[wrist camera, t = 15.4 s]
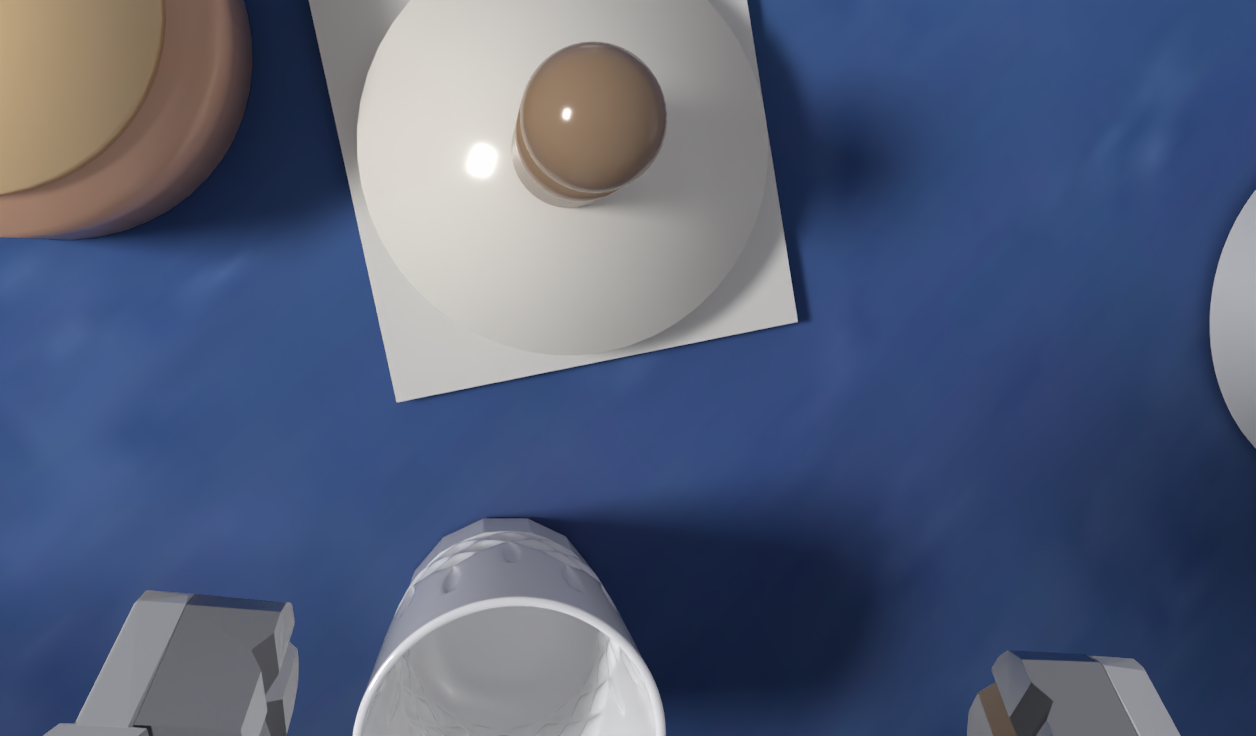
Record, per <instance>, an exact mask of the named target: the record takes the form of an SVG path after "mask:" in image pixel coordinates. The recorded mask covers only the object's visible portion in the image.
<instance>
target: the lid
mask: <svg viewBox="0 0 1256 736" xmlns="http://www.w3.org/2000/svg"><path fill="white" fill-rule="evenodd" d="M357 159H358V166H359V173H360V180H361V186H362V190H363V193H364V197H365V200H366V204H367V207H368V211H369V214H370V216H371V219H372V221H373V223H374V226H375V228H376V230H377V233H378V235H379V237H380V239H381V241H382V243H383V244H384V246H385V248H386V249H387V251H388V253H389V255H390V256H391V258H392V260H393V261H394V263H395V264H396V265H397V267H398V268H399V269H400V271H401V272H402V273H403V274H404V276H405V277H406V278H407V280H408V281H409V282H410V283H411V285H412V286H413V287H414V288H415V289H416V290H417V291H418V292H419V293H420V294H421V295H422V296H423V297H424V298H425V299H426V300H428V301H429V302H430V303H431V304H432V305H433V306H434V307H436V308H437V309H438V310H440V311H441V312H442V313H443V314H445V315H446V316H447V317H449V318H450V319H451V320H453V321H454V322H456V323H458V324H460V325H461V326H463V327H465V328H466V329H468V330H470V331H472V332H473V333H475V334H477V335H479V336H482V337H484V338H487V339H489V340H492V341H494V342H496V343H499V344H501V345H505V346H508V347H512V348H516V349H520V350H523V351H527V352H534V353H542V354H549V355H585V354H593V353H600V352H607V351H611V350H614V349H618V348H622V347H626V346H630V345H632V344H635V343H637V342H640V341H642V340H645V339H647V338H650V337H652V336H654V335H656V334H658V333H660V332H662V331H663V330H665V329H667V328H668V327H670V326H672V325H674V324H675V323H677V322H679V321H680V320H681V319H683V318H684V317H685V316H686V315H688V314H689V313H690V312H692V311H693V310H694V309H696V308H697V307H698V306H699V305H700V304H701V303H702V302H703V301H704V300H705V299H706V298H707V297H708V296H709V295H710V294H711V293H712V292H713V291H714V290H715V289H716V288H717V287H718V286H719V284H720V283H721V282H722V281H723V279H724V278H725V277H726V276H727V274H728V273H729V272H730V270H731V269H732V268H733V266H734V264H735V263H736V261H737V259H738V258H739V256H740V254H741V252H742V251H743V249H744V247H745V246H746V243H747V241H748V239H749V236H750V234H751V232H752V230H753V227H754V225H755V223H756V219H757V216H758V213H759V209H760V206H761V202H762V199H763V194H764V188H765V181H766V175H767V161H768V138H767V127H766V117H765V112H764V108H763V103H762V99H761V94H760V90H759V87H758V85H757V82H756V79H755V76H754V73H753V71H752V68H751V65H750V63H749V61H748V59H747V57H746V55H745V53H744V51H743V49H742V47H741V45H740V43H739V41H738V40H737V38H736V37H735V35H734V34H733V32H732V31H731V29H730V28H729V26H728V25H727V23H726V22H725V20H724V19H723V18H722V17H721V15H720V14H719V13H718V12H717V11H716V10H715V9H714V7H713V6H712V5H711V4H710V3H709V2H708V1H707V0H410V1H409V3H408V4H407V5H406V7H405V8H404V9H403V10H402V12H401V13H400V14H399V15H398V17H397V18H396V19H395V21H394V22H393V23H392V25H391V26H390V28H389V30H388V32H387V33H386V35H385V37H384V38H383V40H382V42H381V44H380V45H379V47H378V49H377V52H376V54H375V57H374V59H373V61H372V64H371V66H370V69H369V71H368V74H367V77H366V81H365V85H364V89H363V93H362V96H361V100H360V108H359V116H358V124H357Z"/></svg>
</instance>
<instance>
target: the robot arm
mask: <svg viewBox="0 0 1256 736" xmlns="http://www.w3.org/2000/svg"><path fill="white" fill-rule="evenodd" d="M1210 343H1211V351H1212V359H1213V364H1214V369H1215V373H1216V377H1217V380H1218V384H1219V387H1220V390H1221V392H1222V395H1223V398H1224V400H1225V402H1226V405H1227V407H1228V409H1229V411H1230V413H1231V415H1232V417H1233V418H1234V420H1235V422H1236V423H1237V425H1238V426H1239V428H1240V430H1241V431H1242V432H1243V434H1244V435H1245V436H1246V438H1247V439H1248V440H1249V441H1250V443H1251V444H1252V445H1253V446H1254V447H1255V448H1256V190H1255V191H1254V192H1253V194H1252V195H1251V197H1250V198H1249V200H1248V201H1247V203H1246V204H1245V206H1244V207H1243V209H1242V210H1241V212H1240V214H1239V216H1238V217H1237V219H1236V221H1235V223H1234V225H1233V227H1232V229H1231V231H1230V233H1229V235H1228V238H1227V240H1226V243H1225V245H1224V248H1223V251H1222V254H1221V257H1220V260H1219V263H1218V267H1217V271H1216V275H1215V279H1214V284H1213V290H1212V297H1211V306H1210ZM294 624H295V622H294V615H293V608H292V603H286V602H275V601H265V600H254V599H244V598H233V597H222V596H212V595H201V594H189V593H176V592H163V591H151V590H146V591H145V592H144V594H143V595H142V596H141V597H140V598H139V599H138V600H137V601H136V602H135V603H134V605H133V607H132V609H131V611H130V613H129V615H128V617H127V619H126V621H125V623H124V625H123V627H122V629H121V631H120V633H119V635H118V637H117V639H116V641H115V643H114V645H113V647H112V649H111V651H110V653H109V655H108V657H107V659H106V661H105V663H104V666H103V668H102V670H101V672H100V674H99V676H98V678H97V680H96V682H95V684H94V686H93V688H92V690H91V692H90V694H89V696H88V698H87V700H86V702H85V704H84V706H83V708H82V710H81V712H80V714H79V716H78V718H77V720H76V722H75V724H74V723H59V724H58V725H57V726H55V727H54V728H53V729H51V730H50V731H49V732H47V733H46V734H45V735H43V736H285V735H286V734H287V731H288V727H289V724H290V720H291V716H292V713H293V708H294V703H295V697H296V691H297V685H298V667H299V662H298V651H297V648H295V647H294V646H293V645H292V644H291V643H290V642H289V640H290V637H291V633H292V630H293V627H294ZM991 670H992V673H993V676H994V678H995V681H996V683H994V684H992V685H991V686H989V687H987V688H985V689H984V690H982V691H980V692H979V693H978V694H977V696H976V698H975V700H974V702H973V704H972V706H971V708H970V710H969V718H968V730H967V736H1180V734H1179V732H1178V730H1177V728H1176V726H1175V725H1174V723H1173V721H1172V719H1171V717H1170V715H1169V714H1168V712H1167V710H1166V708H1165V706H1164V704H1163V703H1162V701H1161V699H1160V697H1159V695H1158V693H1157V692H1156V690H1155V688H1154V686H1153V684H1152V682H1151V681H1150V679H1149V677H1148V675H1147V673H1146V671H1145V670H1144V668H1143V667H1142V666H1141V665H1140V664H1139V663H1138V662H1137V661H1135V660H1134V659H1130V658H1117V657H1101V656H1087V655H1085V654H1068V653H1049V652H1031V651H1012V650H1008V651H1007V652H1005V653H1003V654H1001V655H1000V656H999V657H998V659H997V660H996V662H995V664H994V665H993V667H992V669H991Z"/></svg>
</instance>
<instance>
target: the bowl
mask: <svg viewBox="0 0 1256 736" xmlns="http://www.w3.org/2000/svg"><path fill="white" fill-rule="evenodd" d="M252 69H253V53H252V36H251V30H250V24H249V18H248V13H247V10H246V6H245V3H244V0H0V237H2V238H26V239H57V240H75V239H85V238H94V237H101V236H105V235H109V234H114V233H118V232H122V231H125V230H128V229H131V228H133V227H136V226H139V225H141V224H144V223H146V222H149V221H151V220H152V219H154V218H156V217H158V216H160V215H162V214H163V213H165V212H167V211H169V210H171V209H172V208H173V207H175V206H176V205H178V204H179V203H180V202H182V201H183V200H184V199H186V198H187V197H188V196H190V195H191V194H192V193H193V192H194V191H195V190H196V189H197V188H198V187H199V186H200V185H201V184H202V183H203V182H204V181H205V180H206V179H207V178H208V177H209V176H210V175H211V173H212V172H213V171H214V170H215V168H216V167H217V166H218V164H219V163H220V162H221V161H222V159H223V158H224V156H225V154H226V152H227V151H228V149H229V147H230V146H231V144H232V142H233V140H234V139H235V137H236V134H237V132H238V129H239V127H240V124H241V122H242V119H243V117H244V114H245V110H246V106H247V102H248V98H249V93H250V88H251V79H252Z"/></svg>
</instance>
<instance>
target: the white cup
mask: <svg viewBox="0 0 1256 736" xmlns="http://www.w3.org/2000/svg"><path fill="white" fill-rule="evenodd" d="M353 736H666V724H665V715H664V710H663V705H662V701H661V697H660V694H659V691H658V688H657V685H656V683H655V681H654V678H653V676H652V674H651V672H650V670H649V669H648V667H647V665H646V663H645V661H644V659H643V657H642V656H641V654H640V652H639V650H638V648H637V646H636V644H635V642H634V640H633V638H632V637H631V635H630V633H629V631H628V629H627V627H626V625H625V623H624V621H623V619H622V617H621V615H620V613H619V612H618V610H617V608H616V606H615V604H614V603H613V601H612V599H611V598H610V596H609V594H608V593H607V592H606V590H605V588H604V587H603V585H602V583H601V582H600V580H599V579H598V577H597V576H596V574H595V573H594V572H593V570H592V569H591V567H590V566H589V565H588V564H587V562H586V561H585V560H584V559H583V557H582V556H581V555H580V553H579V552H578V551H577V550H576V548H575V547H574V546H573V545H572V543H571V542H570V541H569V540H568V538H567V537H566V536H564V535H562V534H560V533H558V532H556V531H553V530H551V529H549V528H547V527H545V526H543V525H541V524H539V523H536V522H534V521H532V520H530V519H528V518H484V519H481V520H479V521H477V522H475V523H473V524H470V525H468V526H466V527H464V528H462V529H460V530H458V531H455V532H453V533H451V534H449V535H447V536H445V537H443V538H442V539H441V540H440V542H439V543H438V544H437V545H436V546H435V548H434V549H433V550H432V551H431V552H430V554H429V555H428V556H427V557H426V558H425V559H424V561H423V562H422V563H421V564H420V565H419V567H418V568H417V569H416V570H415V572H414V574H413V577H412V580H411V583H410V586H409V588H408V589H407V591H406V593H405V595H404V596H403V598H402V600H401V602H400V604H399V606H398V609H397V611H396V613H395V616H394V618H393V620H392V623H391V625H390V627H389V629H388V632H387V634H386V636H385V639H384V641H383V644H382V647H381V650H380V652H379V655H378V658H377V661H376V664H375V666H374V669H373V672H372V675H371V677H370V680H369V683H368V685H367V688H366V691H365V693H364V696H363V699H362V701H361V704H360V707H359V710H358V713H357V716H356V720H355V724H354V729H353Z"/></svg>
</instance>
